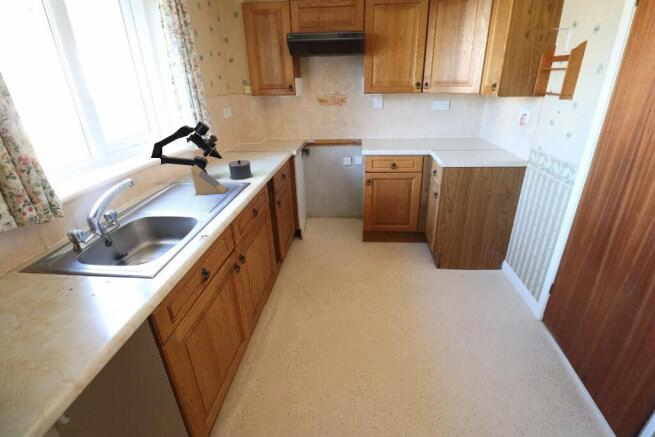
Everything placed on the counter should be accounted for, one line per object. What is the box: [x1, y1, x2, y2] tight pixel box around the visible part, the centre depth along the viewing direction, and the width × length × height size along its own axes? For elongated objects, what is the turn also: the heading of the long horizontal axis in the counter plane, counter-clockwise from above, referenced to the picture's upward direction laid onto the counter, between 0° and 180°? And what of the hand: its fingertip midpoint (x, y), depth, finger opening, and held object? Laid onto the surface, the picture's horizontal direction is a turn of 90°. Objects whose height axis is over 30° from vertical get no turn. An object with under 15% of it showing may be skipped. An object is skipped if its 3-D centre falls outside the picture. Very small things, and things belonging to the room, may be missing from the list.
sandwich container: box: [190, 165, 228, 196], centre depth 177 cm, size 9×15×15 cm, turn 94°
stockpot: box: [227, 159, 253, 180], centre depth 204 cm, size 14×14×11 cm
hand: (221, 158), depth 200 cm, fingers closed
